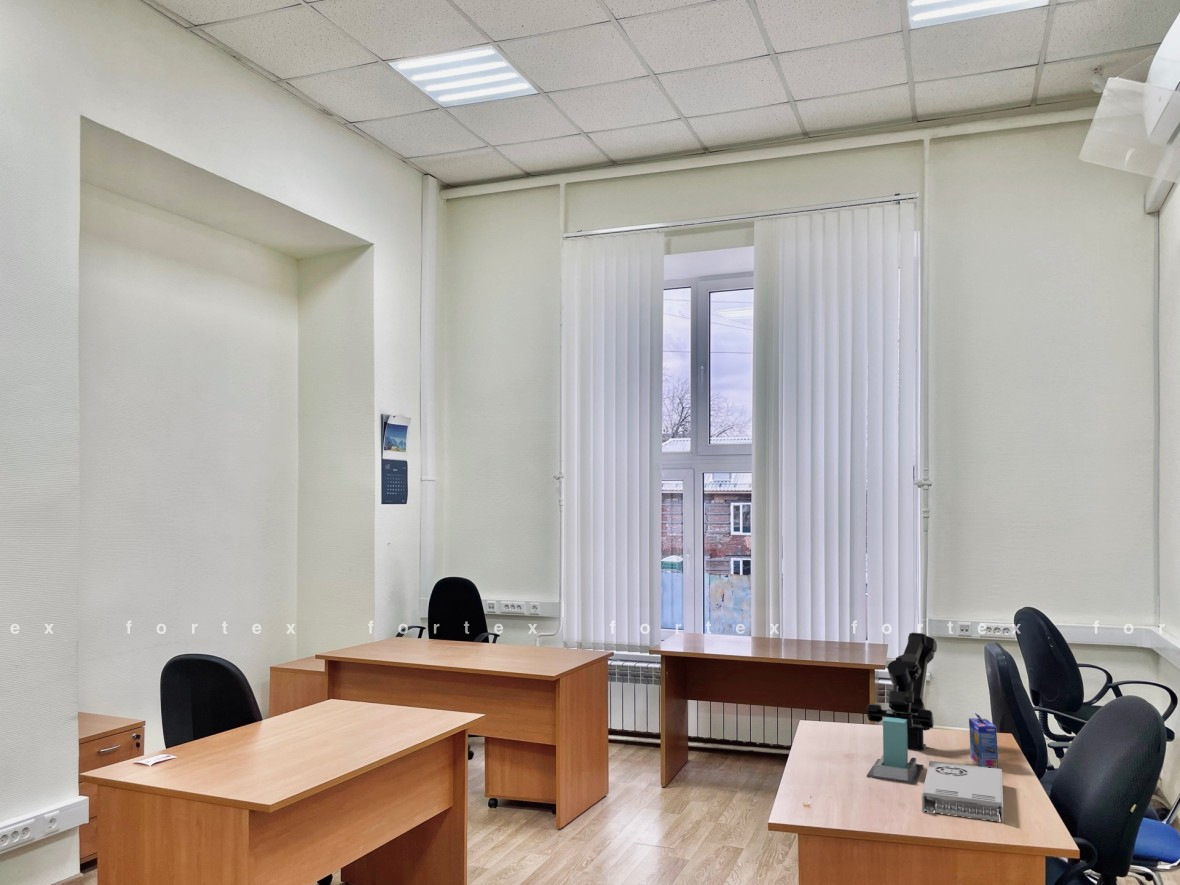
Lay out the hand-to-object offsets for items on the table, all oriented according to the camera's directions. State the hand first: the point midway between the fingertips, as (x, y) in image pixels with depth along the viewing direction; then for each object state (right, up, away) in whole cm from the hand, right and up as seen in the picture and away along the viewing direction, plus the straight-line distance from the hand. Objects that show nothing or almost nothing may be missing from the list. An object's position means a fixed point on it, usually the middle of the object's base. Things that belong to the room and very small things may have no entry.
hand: (896, 740), depth 263 cm
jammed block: (-1, -8, -3) cm, 9 cm away
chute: (-1, -8, -3) cm, 9 cm away
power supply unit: (+9, -8, -26) cm, 28 cm away
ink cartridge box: (+28, -9, +6) cm, 30 cm away
